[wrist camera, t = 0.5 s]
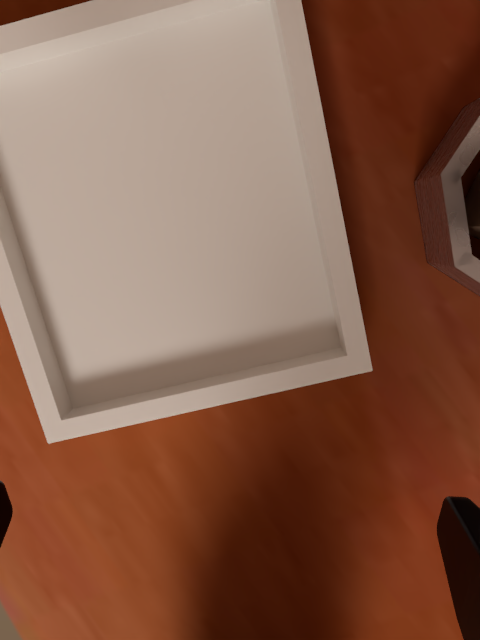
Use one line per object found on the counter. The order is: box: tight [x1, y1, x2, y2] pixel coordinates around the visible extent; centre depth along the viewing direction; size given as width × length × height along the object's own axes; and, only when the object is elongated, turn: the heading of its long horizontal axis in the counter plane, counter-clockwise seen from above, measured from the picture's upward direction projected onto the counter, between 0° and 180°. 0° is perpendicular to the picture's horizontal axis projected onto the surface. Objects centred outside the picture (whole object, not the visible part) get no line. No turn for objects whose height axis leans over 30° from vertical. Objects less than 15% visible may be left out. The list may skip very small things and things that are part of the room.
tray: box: [0, 0, 373, 444], centre depth 21 cm, size 18×16×2 cm
